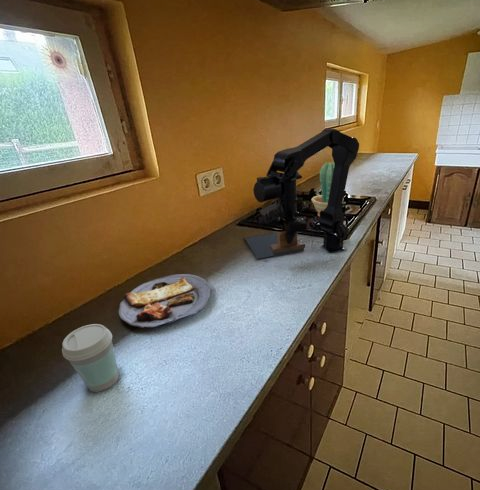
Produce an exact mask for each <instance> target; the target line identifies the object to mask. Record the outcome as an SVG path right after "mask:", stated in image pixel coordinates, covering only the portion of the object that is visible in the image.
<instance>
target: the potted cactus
mask: <svg viewBox="0 0 480 490" xmlns="http://www.w3.org/2000/svg"><path fill="white" fill-rule="evenodd" d="M334 165H335V164H334V161H333V162H331V161H328V162H324V164H323V165H322V166H321V168H320V170H319V183H320V186H321V189H320V190H321V194H318V195H315V196H313V197H312V198H311V203H312V204H313V206H314V209H315V211H316V212H317V216H318V217H320V211H321V210H322V211H324V209H325V208H326V207H327V205H328V199H329V194H330V188H331V182H332V177H333V171H334ZM344 200H345V199H344V198H343V202H342V204H343V203H344Z"/></svg>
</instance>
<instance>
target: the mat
mask: <svg viewBox="0 0 480 490" xmlns="http://www.w3.org/2000/svg"><path fill="white" fill-rule="evenodd" d="M244 241H245V242H246V243H247V245H248V247H249V248H250V250H251V252H252V253H253V255H254V257H255V259H256V260H258V261H259V260H263V259H264V260H265V259H270V258H276V257H277V256H274V255H273V254H272V252H271V249H270V245H273V244H278V235H277V232H274V233H268V234H261V235H256V236H250V237H244ZM297 253H298V252H296V253H295V254H297ZM291 254H293V253H291ZM291 254H290V255H291ZM286 255H288V254H285V255H284V256H286ZM280 256H282V255H280ZM280 256H279V257H280Z"/></svg>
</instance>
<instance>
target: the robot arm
mask: <svg viewBox="0 0 480 490" xmlns="http://www.w3.org/2000/svg"><path fill="white" fill-rule="evenodd" d="M326 148H330V149H331V157H332V160H333V162H334V164H335V165H334V171H333V177H332V182H331V188H330V194H329V199H328V205H327V207H326V208H325V209H324V211H322V210H321V211H320V217H319V216H318V217H319V218H318V220H317V222H318V225H319V226H318V227H320V229H321V232H322V233H324V236H323V241H322V242H323V244H322V248H323V249H325V250H326V251H327V252H328V253H330V254H332V253H337V252H341V251H345V250H346V248H345V247H344V239H345V238H346V236H347V235H348V233H349V230H350V229H349V228H348V227H347V226H346V224H344V222H345V215H344V213H343V209H342V206H343V203H344V200H343V199H344V196H345V192H346V186H347V181H348V175H349V171H350V168H351V167H350V166H351V165H352V164H353V162H354V161H356V159H357V156H358V153H359V150H360V142H359V141H358V138H356V137H352V136H351V135H347V134H345V133H342V132H341V131H340V130H337V129H336V128H324V129H323V130H321V132H319V133H317V134H315V135H314V136H312V137H310V138H309V139H307V140H305V141H304V142H302V143H301V144H300V143H299V145H297V146H294V147H289V148H285V149H281V150H279V151H277V152H275V154H274V156H273V160H272V162H271V164H270V166H269V168H268V170H267V172H266V173H265V174H266V176H258V177H256V182H255V183H254V185H253V189H252V191H253V195H254V198H255V199H256V201H257V202H258V203H265V202H268V201H271V200H274V202H273V203H272V204H269V205H267V206H265V207H263V208H261V209H260V210H259V213H260V216H261V218H262V220H263V221H264V222H265V223H266V224H269V223H271V222H273V221H275V222H276V223H277V224H279V226H280V229H281V232H283V231H285V232H286V238H287V242H288V244H291V243H292V241H293V239H294V237H295V235H296V233H297V234H298V232H302V231H307V230H308V229H309V228H308V227H309V225H308V222H307V221H306V220H305V219H303V218H302V217H301V216H299V215H300V214H299V211H297V204H298V203H300V202H299V201H300V200H299V198H298V197H297V180H301V179H302V178H303V176H302V175H301V174H300V173H299V170H300V169H302V168H303V167H304V165H305V162H306V161H307V160H308V159H310V158H312V157H313V156H315V155H316V154H318V153H319V152H321V151H322V150H324V149H326ZM342 202H343V203H342ZM297 216H299V217H297Z"/></svg>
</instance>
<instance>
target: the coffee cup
mask: <svg viewBox="0 0 480 490" xmlns="http://www.w3.org/2000/svg"><path fill="white" fill-rule="evenodd" d="M61 353H62V357H63V358H64V359H65V360H67V361H68V362H69V363H70V365H71V366H72V367H73V369H74V370H75V372H76V373H77V374H78V376H79V377H80V378H81V380H82V381H83V383H84V384H85V385H86V386H87V388H88V389H89V391H91V392H96V393H98V392H103V391H106V390H107V389H110V388H111V387H112V386H114V385H115V384H116V382H117V381H118V379H119V377H120V373H119V368H118V363H117V359H116V354H115V350H114V345H113V334H112V332H111V331H110V329H108V328H107V327H106V326H105V325H103V324H100V323H91V324H87V325H83V326H80V327H78V328H76V329H75V330H72V331H71V332H70V333H69V334H67V335H66V336H65V338H64V339H63V341H62V348H61Z"/></svg>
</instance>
